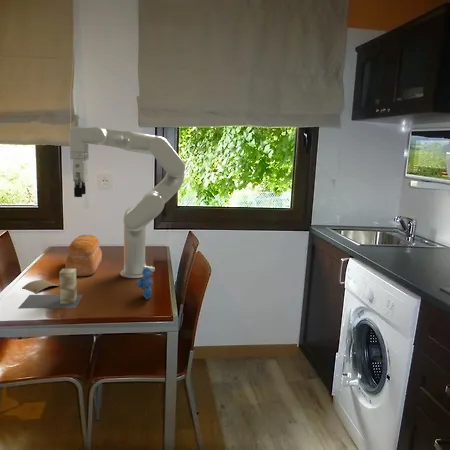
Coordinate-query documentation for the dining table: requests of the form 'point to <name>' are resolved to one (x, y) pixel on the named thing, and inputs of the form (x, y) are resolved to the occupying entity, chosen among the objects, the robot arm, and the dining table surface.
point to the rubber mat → (47, 302)
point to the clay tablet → (38, 285)
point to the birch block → (68, 286)
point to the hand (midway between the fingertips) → (80, 195)
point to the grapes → (146, 283)
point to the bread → (84, 255)
